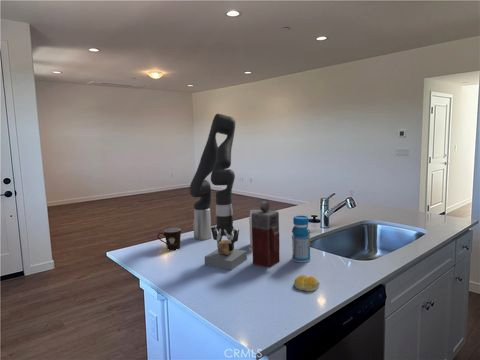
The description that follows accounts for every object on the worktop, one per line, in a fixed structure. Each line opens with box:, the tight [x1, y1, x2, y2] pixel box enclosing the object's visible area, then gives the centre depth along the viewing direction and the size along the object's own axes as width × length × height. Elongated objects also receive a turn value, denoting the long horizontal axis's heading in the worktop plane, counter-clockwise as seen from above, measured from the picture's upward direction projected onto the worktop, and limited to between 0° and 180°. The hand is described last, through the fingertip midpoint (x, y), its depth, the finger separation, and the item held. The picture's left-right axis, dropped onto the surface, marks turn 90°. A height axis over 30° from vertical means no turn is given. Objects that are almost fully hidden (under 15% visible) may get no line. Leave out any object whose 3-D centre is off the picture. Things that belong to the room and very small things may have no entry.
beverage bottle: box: [291, 214, 312, 263], centre depth 149 cm, size 8×8×20 cm
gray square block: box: [204, 248, 248, 271], centre depth 150 cm, size 14×14×4 cm
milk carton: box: [248, 209, 261, 248], centre depth 171 cm, size 7×7×19 cm
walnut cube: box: [217, 239, 233, 255], centre depth 149 cm, size 5×5×5 cm
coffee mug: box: [157, 227, 182, 251], centre depth 172 cm, size 12×9×10 cm
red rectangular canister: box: [251, 201, 281, 269], centre depth 146 cm, size 9×11×28 cm
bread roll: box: [294, 274, 320, 292], centre depth 123 cm, size 8×9×4 cm
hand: (225, 249), depth 149 cm, fingers open, 5 cm apart
